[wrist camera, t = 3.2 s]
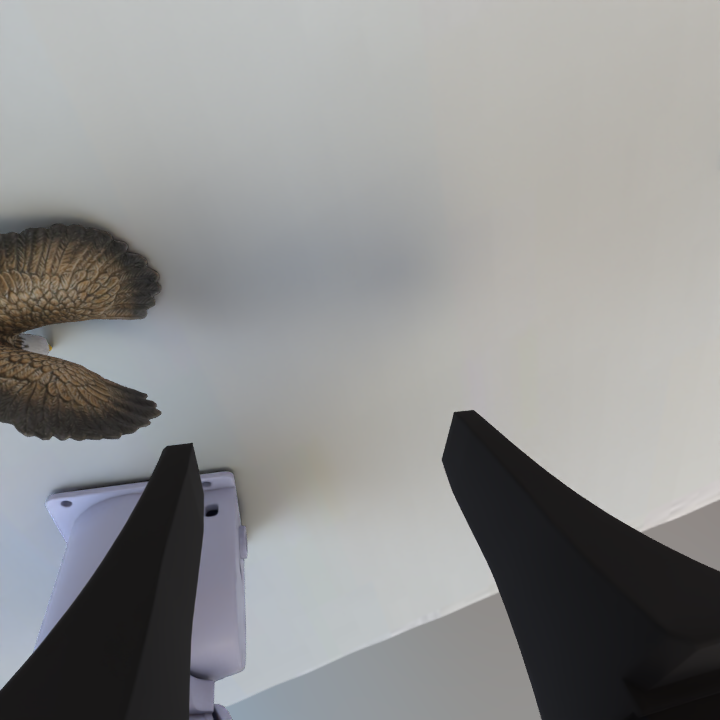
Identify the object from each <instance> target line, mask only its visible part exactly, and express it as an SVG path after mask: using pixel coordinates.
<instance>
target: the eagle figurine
mask: <svg viewBox="0 0 720 720" xmlns="http://www.w3.org/2000/svg"><path fill="white" fill-rule="evenodd" d="M112 239H113V237H112V236H111V235H110V234H109V233H107V232H105V231H100V230H97V229H94V228H87V229H86V228H84V227H83V226H80V225H75V224H74V225H70V226H65V225H63V224H54V225H52V226H51V227H50V228H48V229H46V228H29V229H26V230H25V231H23V232H21V234H18V233H15V232H9V233H7V234H0V422H3V423H9V424H12V425H14V426H15V428H16V429H17V430H18V431H19V432H20V433H22V434H23V435H25V436H27V437H32V436H36V437H38V438H40V439H42V440H49V439H50V438H51V437H52V436H55V437H56V438H57V439H59V440H67V439H68V438H72V439H74V440H77V441H82V440H85V439H90V440H101V439H103V438H104V439H119V438H120V437H121V435H125V434H132V433H134V432H136V431H137V430H138V429H139V428H140V427H146V426H148V425H150V423H151V422H150V421H149V420H150V419H153V418H156V417H158V416H160V415H161V414H162V413H161V411H159V410H158V409H156V407H157V404H156V403H155V402H153V401H150V400H146V398H147V397H148V396H147V394H145V393H141V392H139V391H137V390H134V389H130V388H127V387H124V386H121V385H119V384H117V383H114V382H112V381H109V380H107V379H104V378H103V377H101V376H100V375H98V374H96V373H94V372H92V371H90V370H88V369H86V368H85V367H83V366H81V365H79V364H76V363H73V362H69V361H66V360H63V359H59V358H56V357H51V356H47V354H48V353H49V351H50V350H52V347H51V346H50V345H48V343H47V340H46V339H45V338H44V337H41V336H36V335H31V334H23V333H22V332H25V331H27V330H31V329H35V328H39V327H42V326H46V325H50V324H57V323H64V322H77V321H84V320H90V319H122V320H135V319H143V318H145V317H146V316H147V311H146V310H147V309H149V308H150V307H152V306H154V305H155V299H154V298H153V295H156V294H158V293H159V292H160V290H161V286H160V285H159V284H158V283H157V280H158V279H159V275H158V273H157V272H156V271H154V270H152V269H150V268H148V267H147V266H146V265H147V260H146V259H145V258H144V257H142V256H140V255H138V254H134V253H127V252H126V251H127V248H128V245H127V244H126V243H125V242H123V241H121V242H119V241H114V240H112Z"/></svg>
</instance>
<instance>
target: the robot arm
mask: <svg viewBox="0 0 720 720" xmlns="http://www.w3.org/2000/svg"><path fill="white" fill-rule="evenodd" d="M442 462H443V465H444V468H445V471H446V474H447V477H448V480H449V483H450V486H451V489H452V491H453V494H454V496H455V498H456V500H457V502H458V504H459V506H460V508H461V510H462V512H463V514H464V516H465V518H466V520H467V523H468V525H469V527H470V529H471V531H472V533H473V535H474V537H475V539H476V541H477V543H478V545H479V547H480V549H481V551H482V553H483V555H484V557H485V559H486V561H487V563H488V565H489V568H490V570H491V572H492V574H493V577H494V579H495V582H496V584H497V587H498V590H499V592H500V595H501V597H502V600H503V603H504V605H505V608H506V611H507V613H508V616H509V619H510V622H511V625H512V628H513V630H514V633H515V636H516V639H517V642H518V645H519V648H520V650H521V654H522V657H523V660H524V663H525V666H526V669H527V672H528V675H529V679H530V682H531V684H532V688H533V691H534V694H535V698H536V701H537V705H538V708H539V712H540V715H541V719H542V720H720V571H717V570H715V569H713V568H710V567H708V566H706V565H704V564H701V563H699V562H697V561H695V560H693V559H691V558H689V557H687V556H685V555H683V554H681V553H679V552H677V551H675V550H672V549H670V548H669V547H667V546H665V545H663V544H661V543H659V542H657V541H655V540H653V539H651V538H649V537H648V536H646V535H644V534H642V533H641V532H639V531H637V530H635V529H634V528H632V527H630V526H628V525H627V524H625V523H623V522H621V521H620V520H618V519H616V518H615V517H613V516H611V515H610V514H608V513H606V512H605V511H603V510H602V509H600V508H599V507H597V506H596V505H594V504H592V503H591V502H589V501H588V500H586V499H585V498H583V497H582V496H580V495H579V494H577V493H576V492H575V491H573V490H572V489H570V488H569V487H567V486H566V485H565V484H563V483H562V482H561V481H559V480H558V479H557V478H555V477H554V476H553V475H551V474H550V473H549V472H547V471H546V470H545V469H543V468H542V467H541V466H540V465H538V464H537V463H536V462H535V461H533V460H532V459H531V458H530V457H528V456H527V455H526V454H525V453H524V452H522V451H521V450H520V449H519V448H518V447H516V446H515V445H514V444H513V443H512V442H510V441H509V440H508V439H507V438H506V437H505V436H503V435H502V434H501V433H500V432H499V431H498V430H496V429H495V428H494V427H493V426H492V425H491V424H489V423H488V422H487V421H486V420H485V419H484V418H482V417H481V416H480V415H479V414H478V413H476V412H475V411H474V410H469V411H461V412H454V415H453V419H452V422H451V426H450V430H449V434H448V438H447V442H446V445H445V449H444V453H443V457H442ZM45 506H46V508H47V510H48V512H49V513H50V515H51V517H52V519H53V520H54V522H55V524H56V526H57V527H58V529H59V531H60V533H61V534H62V536H63V538H64V540H65V541H66V543H67V547H66V550H65V553H64V556H63V559H62V562H61V565H60V569H59V572H58V575H57V578H56V581H55V584H54V588H53V591H52V594H51V597H50V600H49V603H48V606H47V610H46V613H45V616H44V619H43V622H42V625H41V629H40V632H39V635H38V638H37V641H36V644H35V647H34V651H33V654H32V655H31V656H30V657H29V658H28V660H27V661H26V662H25V663H24V664H23V665H22V667H21V668H20V669H19V670H18V671H17V672H16V673H15V675H14V676H13V677H12V678H11V679H10V680H9V681H8V682H7V684H6V685H5V686H4V687H3V688H2V689H1V690H0V720H232V717H231V716H230V714H229V712H228V710H227V709H226V708H225V707H224V706H222V705H220V704H214V682H216V681H218V680H220V679H223V678H225V677H228V676H231V675H234V674H237V673H239V672H241V671H243V670H244V669H245V664H246V615H245V575H244V559H246V558H247V556H248V551H247V534H246V527H245V526H242V525H241V519H240V512H239V505H238V499H237V492H236V486H235V479H234V475H233V474H232V473H231V472H228V471H223V472H215V473H207V474H199V469H198V465H197V460H196V456H195V452H194V447H193V443H188V444H180V445H171V446H167V447H166V448H164V449H163V451H162V454H161V456H160V458H159V461H158V463H157V465H156V467H155V469H154V471H153V473H152V475H151V478H150V480H149V481H147V482H139V483H132V484H124V485H116V486H109V487H101V488H94V489H86V490H78V491H71V492H63V493H56V494H52V495H49V496H48V497H47V499H46V502H45Z"/></svg>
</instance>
